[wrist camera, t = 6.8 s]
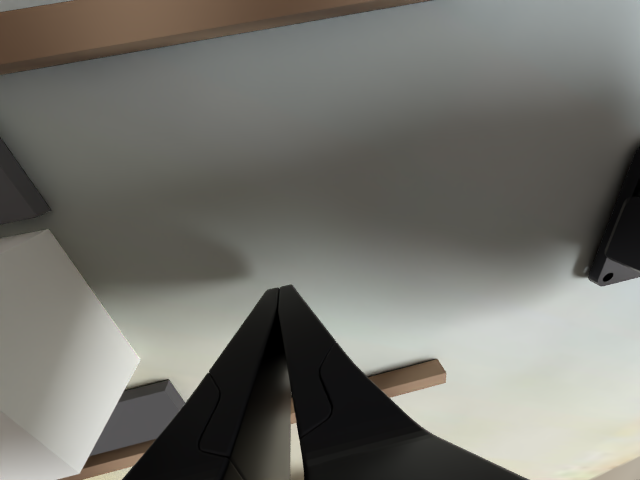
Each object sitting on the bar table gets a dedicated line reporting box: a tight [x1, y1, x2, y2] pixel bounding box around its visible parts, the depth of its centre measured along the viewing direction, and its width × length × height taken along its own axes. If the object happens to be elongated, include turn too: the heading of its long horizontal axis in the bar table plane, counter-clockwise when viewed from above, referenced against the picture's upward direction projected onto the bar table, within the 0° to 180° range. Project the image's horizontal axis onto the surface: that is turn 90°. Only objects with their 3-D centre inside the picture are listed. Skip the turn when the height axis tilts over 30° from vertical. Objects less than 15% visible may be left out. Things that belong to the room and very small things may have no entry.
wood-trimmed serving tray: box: [0, 0, 446, 480], centre depth 9 cm, size 21×16×1 cm
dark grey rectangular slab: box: [0, 138, 185, 456], centre depth 9 cm, size 6×14×1 cm, turn 10°
